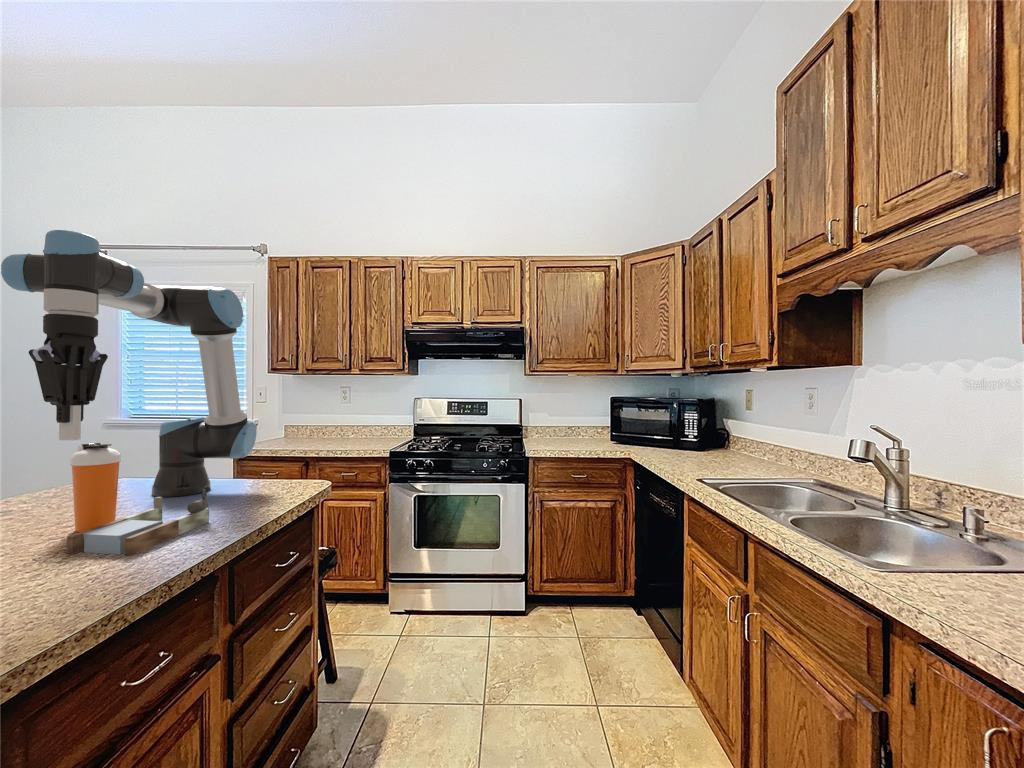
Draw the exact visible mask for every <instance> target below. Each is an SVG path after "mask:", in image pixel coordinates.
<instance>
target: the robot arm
mask: <svg viewBox="0 0 1024 768" xmlns="http://www.w3.org/2000/svg"><path fill="white" fill-rule="evenodd" d="M44 236H45V237H44V247H43V250H42V253H43V254H32V253H21V254H20V253H19V254H10V255H8V256H6V257H5V258H4V259H3V260H2V261H1V264H0V269H1V270H0V274H1V278H2V280H3V281H4V282H5V283H6V285H7V286H9V287H10V288H11V289H13V290H16V291H19V292H29V293H35V292H36V293H43V311H45V312H47V313H45V314H44V315H43V316H42V332H43V334H45V335H46V338H45V340H44V341H43V345H42V346H40V347H39V348H36V349H35V348H33V349H30V350H28V355H29V356H30V358H31V360H32V361H33V362H34V366H35V370H36V373H37V378H38V381H39V385H40V386H39V387H40V389H41V394H42V397H43V398H42V399H43V401H44V402H45V403H50V405H52V406H55V407H56V408H55V409H56V410H55V411H56V416H55V417H56V419H55V420H56V422H57V424H58V423H59V424H58V440H59V441H79V440H81V433H82V432H81V431H82V430H81V429H82V422H83V420H84V409H85V407H84V406H87V405H88V406H89V404H90V403H91V402H94V401H95V399H96V396H97V391H98V388H99V383H100V380H101V375H102V372H103V367H104V365H105V363H106V361H107V360H108V357H109V355H108V354H107V353H101V352H99V351H98V350H97V345H96V343H95V339H96V337H98V335H99V320H98V318H97V317H96V316H98V315H99V309H100V308H99V305H100V306H104V307H108V308H113V309H118V310H122V311H127V312H129V313H131V314H132V315H133V316H135V317H138V318H141V319H145V320H149V321H152V322H153V321H154V322H157V323H161V324H166V325H171V326H178V327H189V329H190V334H191V335H192V336H193V337H195V338H196V339H197V341H198V347H199V348H198V349H199V355H200V362H201V368H202V374H203V380H204V388H205V394H206V395H205V396H206V403H207V410H208V414H207V416H206V417H203V416H202V417H191V418H185V419H184V418H183V419H175V420H169V421H164V422H163V423H161V424H160V427H159V435H158V438H159V442H158V443H159V447H158V448H159V449H158V450H159V451H158V452H159V453H158V454H159V457H158V458H159V460H158V461H159V466H158V467H159V468H158V471H157V474H156V476H155V479H154V482H153V485H152V486H151V495H152V496H153V497H162V498H164V497H165V498H168V497H170V498H171V497H182V496H189V495H190V496H191V495H195V494H201V493H202V490H203V488H204V487H206V486H208V487H210V488H211V480H210V478H209V475H208V472H207V470H206V467H205V459H231V460H232V459H240V458H241V459H242V458H246V457H248V456H249V455H250V454H251V452H252V451H253V448H254V446H255V443H256V439H257V425H256V423H255V422H254V421H248V414H247V413H246V412H244V411H242V410H241V409H242V408H241V401H240V394H239V385H238V384H239V383H238V377H237V376H238V375H237V368H236V360H235V353H234V346H233V345H234V344H233V337H234V336H235V335H236V334H237V333H238V330H237V328H239V327H241V326H242V324H243V321H244V320H243V318H244V311H243V306H242V303H241V301H240V299H239V297H238V295H236V292H234V291H233V290H231V289H229V288H224V287H216V286H182V285H153V284H150V283H145V277H144V275H143V273H142V272H141V271H140V270H139V268H137V267H136V266H133V265H131V264H129V263H128V262H127V261H124V260H119V259H116V258H113V257H110V256H108V255H105V254H103V253H101V249H100V242H99V241H98V239H97V238H96V237H94V236H92V235H89V234H86V233H82V232H79V231H74V230H68V229H67V230H66V229H53V230H50V231H49V230H48V231H47V232H46V233H45V235H44Z"/></svg>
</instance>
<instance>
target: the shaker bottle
mask: <svg viewBox="0 0 1024 768" xmlns="http://www.w3.org/2000/svg"><path fill="white" fill-rule="evenodd" d="M112 445H113V444H111V443H103V444H102V443H101V442H91V443H83V444H79V445H78V446H77V451H76V452H74V453H73V454H72V455H71V456H70V466H71V473H72V474H71V476H72V494H73V512H74V513H73V514H74V530H75V532H77V533H79V532H83V531H86V530H89V529H92V528H95V527H98V526H101V525H104V524H107V523H110V522H113V521H116V513H117V501H118V499H117V498H118V489H119V487H118V486H119V484H118V483H119V472H120V462H121V461H122V460H121V459H122V458H121V455H122V454H121V453H120V452H119V451H118V450H117V449H115V448H110V447H111V446H112Z"/></svg>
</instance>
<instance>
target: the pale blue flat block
mask: <svg viewBox="0 0 1024 768" xmlns="http://www.w3.org/2000/svg"><path fill="white" fill-rule="evenodd" d="M161 524H164V521H163V520H162V521H143V520H132V519H129V520H125V521H122V522H119V523H116V524H113V525H110V526H107V527H103V528H100V529H97V530H94V531H91V532H88V533H85V534H84V537H83V538H84V550H83V551H84V553H90V554H91V553H93V554H109V555H110V554H113V555H115V554H116V555H122V554H125V538H127V537H130V536H132V535H135V534H137V533H140V532H143V531H145V530H148V529H151V528H153V527H156V526H158V525H161Z"/></svg>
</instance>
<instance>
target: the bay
mask: <svg viewBox="0 0 1024 768" xmlns="http://www.w3.org/2000/svg"><path fill="white" fill-rule="evenodd" d="M210 490H211V486H210V487H208V486H206V487H204V488H203V490H202V492H201V493H202V494H201V499H198V500H195V501H193V502H190V503H188V505H187V512H188V514H185V515H183V516H179V517H177V518H174V519H172V520H169V521H166V522H163V524H161V525H158V526H156V527H153V528H151V529H148V530H145V531H143V532H140V533H137V534H135V535H132V536H130V537H127V538H125V552H124V556H126V557H129V556H130V557H131V556H133V555H135V554H137V553H140V552H142V551H144V550H147V549H150V548H152V547H154V546H156V545H158V544H159V545H160V544H161V543H163V542H166V541H168V540H170V539H172V538H176V537H177V536H180V535H182V534H185V533H186V532H189V531H191V530H194V529H196V528H198V527H201V526H203V525H205V524H208V523H210V507H209V501H208V500H207V492H209V491H210ZM129 519H132V520H143V521H163V497H159V496H155V497H154V498H153V508H150V509H147V510H146V509H145V510H144V511H141V512H137V513H134V514H132V515H128V516H126V517H122V518H119V519H117V520H116V519H115V521H113V522H110V523H107V524H104V525H101V526H98V527H95V528H92V529H89V530H86V531H83V532H77V533H74V534H70V535H67V537H66V554H67V555H73V554H76V553H79V552H82V551H84V538H83V537H84V534H85V533H88V532H91V531H94V530H97V529H100V528H103V527H107V526H110V525H113V524H116V523H119V522H122V521H125V520H129Z"/></svg>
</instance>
